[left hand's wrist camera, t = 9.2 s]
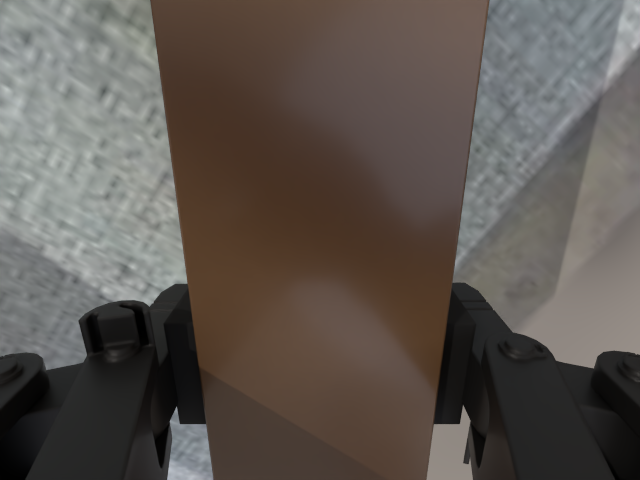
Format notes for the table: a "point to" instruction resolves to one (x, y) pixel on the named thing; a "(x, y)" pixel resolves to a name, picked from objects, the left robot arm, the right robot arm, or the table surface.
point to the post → (319, 221)
